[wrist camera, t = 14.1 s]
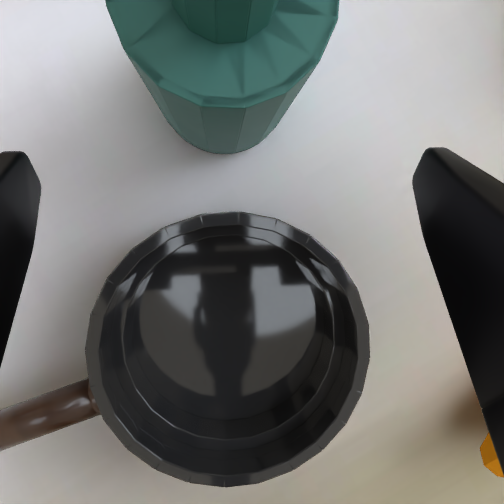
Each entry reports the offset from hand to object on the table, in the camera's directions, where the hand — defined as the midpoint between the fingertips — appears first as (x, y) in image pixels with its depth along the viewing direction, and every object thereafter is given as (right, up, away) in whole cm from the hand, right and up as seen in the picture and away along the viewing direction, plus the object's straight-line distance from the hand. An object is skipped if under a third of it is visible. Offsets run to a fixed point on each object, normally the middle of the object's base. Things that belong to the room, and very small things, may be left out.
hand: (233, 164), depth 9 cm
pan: (-1, -6, +14) cm, 15 cm away
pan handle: (-10, -10, +11) cm, 18 cm away
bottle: (-1, +7, +12) cm, 14 cm away
